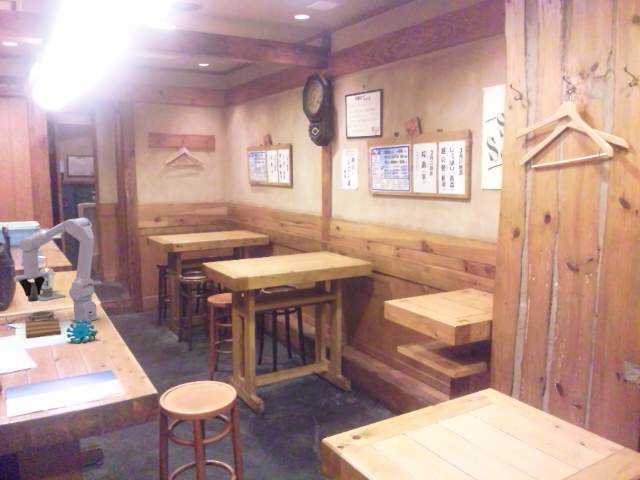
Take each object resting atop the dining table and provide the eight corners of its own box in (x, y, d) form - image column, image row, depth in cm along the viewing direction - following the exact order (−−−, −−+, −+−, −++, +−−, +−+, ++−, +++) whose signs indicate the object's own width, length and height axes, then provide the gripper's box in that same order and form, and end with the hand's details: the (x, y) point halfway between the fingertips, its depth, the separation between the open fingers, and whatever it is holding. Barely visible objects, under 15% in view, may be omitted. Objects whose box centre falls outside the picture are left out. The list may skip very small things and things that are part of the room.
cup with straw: (50, 295, 277) (47, 257, 274) (34, 294, 278) (31, 256, 275) (60, 291, 285) (58, 254, 282) (44, 290, 286) (42, 253, 284)
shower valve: (49, 283, 282) (66, 287, 273) (50, 293, 282) (66, 297, 274) (26, 287, 271) (42, 291, 263) (26, 298, 272) (43, 302, 264)
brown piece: (60, 333, 213) (60, 326, 213) (26, 338, 207) (26, 330, 207) (56, 316, 238) (56, 309, 238) (25, 319, 232) (25, 313, 232)
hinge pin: (40, 300, 238) (39, 282, 237) (31, 302, 235) (29, 284, 234) (35, 299, 240) (34, 281, 239) (26, 300, 237) (25, 283, 236)
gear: (63, 340, 200) (70, 317, 206) (65, 347, 204) (71, 324, 211) (94, 343, 202) (100, 319, 208) (95, 350, 207) (101, 327, 213)
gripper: (42, 261, 244) (44, 290, 245) (9, 266, 232) (11, 297, 234) (51, 263, 240) (52, 293, 241) (17, 268, 228) (19, 299, 230)
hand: (33, 295), depth 237 cm, fingers closed on hinge pin, 4 cm apart
